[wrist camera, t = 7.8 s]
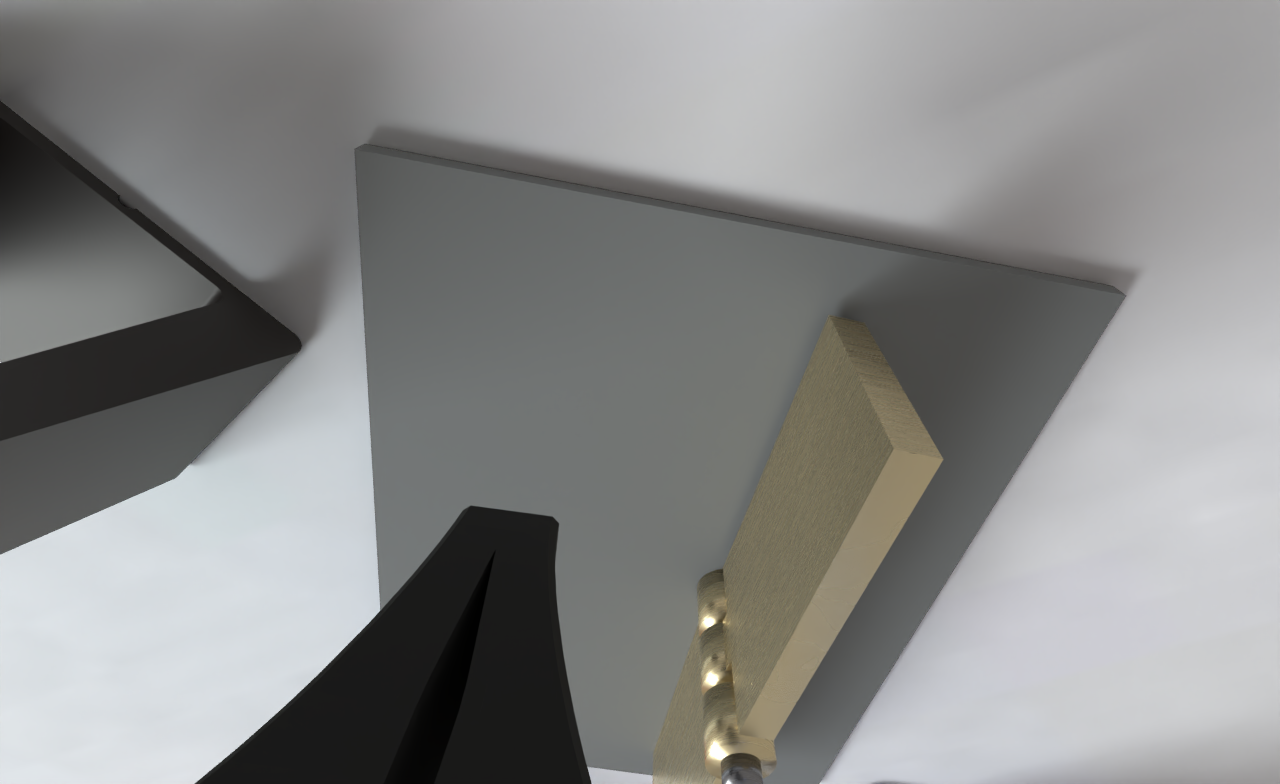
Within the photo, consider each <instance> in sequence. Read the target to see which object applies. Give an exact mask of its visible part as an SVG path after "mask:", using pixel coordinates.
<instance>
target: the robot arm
mask: <svg viewBox="0 0 1280 784" xmlns="http://www.w3.org/2000/svg"><path fill="white" fill-rule="evenodd" d="M558 531H559V523H558V522H557V521H556V519H555V518H554V517H553V516H546V515H538V514H531V513H524V512H516V511H509V510H501V509H494V508H486V507H479V506H472V505H471V506H469V507H467V508H466V509H464V510H463V511H462V512H461V514H460V515H459V517H458V518H457V519H456V521H455V522H454V523H453V525H452V526H451V527H450V529H449V530H448V531H447V533H446V534H445V535H444V537H443V538H442V539H441V541H440V542H439V543H438V544H437V546H436V547H435V548H434V549H433V551H432V552H431V553H430V554H429V556H428V557H427V558H426V559H425V560H424V562H423V563H422V564H421V565H420V566H419V568H418V569H417V570H416V571H415V572H414V574H413V575H412V576H411V577H410V578H409V579H408V580H407V582H406V583H405V584H404V585H403V586H402V587H401V588H400V589H399V590H398V592H397V593H396V594H395V595H394V596H393V597H392V598H391V599H390V601H389V602H388V603H387V604H386V605H385V606H384V607H383V608H382V610H381V611H380V612H379V613H378V614H377V615H376V616H375V617H374V618H373V619H372V620H371V622H370V623H369V624H368V625H367V626H366V627H365V628H364V629H363V630H362V631H361V632H360V633H359V634H358V635H357V636H356V637H355V638H354V639H353V640H352V641H351V642H350V643H349V644H348V645H347V646H346V647H345V648H344V649H343V650H342V651H341V652H340V653H339V654H338V655H337V656H336V657H335V658H334V659H333V660H332V661H331V662H330V663H329V664H328V665H327V666H326V667H325V668H324V669H323V670H322V671H321V672H320V673H319V674H318V675H317V676H316V677H315V678H314V679H313V680H312V681H311V682H310V683H309V684H308V685H307V686H306V687H305V688H304V689H303V690H302V691H301V692H300V693H298V694H297V695H296V696H295V697H294V698H293V699H292V700H291V701H290V702H289V703H288V704H287V705H286V706H284V707H283V708H282V709H281V710H280V711H279V712H278V713H277V714H276V715H275V716H273V717H272V718H271V719H270V720H269V721H268V722H267V723H266V724H264V725H263V726H262V727H261V728H260V729H259V730H258V731H257V732H255V733H254V734H253V735H252V736H251V737H250V738H249V739H248V740H246V741H245V742H244V743H243V744H242V745H241V746H239V747H238V748H237V749H236V750H235V751H234V752H232V753H231V754H230V755H229V756H228V757H226V758H225V759H224V760H223V761H222V762H220V763H219V764H218V765H217V766H216V767H214V768H213V769H212V770H211V771H210V772H208V773H207V774H206V775H205V776H203V777H202V778H201V779H200V780H199V781H197V782H196V783H195V784H591V780H590V776H589V772H588V768H587V764H586V760H585V757H584V753H583V748H582V744H581V740H580V736H579V731H578V727H577V722H576V718H575V713H574V708H573V703H572V698H571V693H570V688H569V683H568V678H567V672H566V666H565V660H564V654H563V647H562V639H561V631H560V624H559V616H558V607H557V596H556V576H555V560H556V550H557V540H558Z"/></svg>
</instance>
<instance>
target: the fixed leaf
mask: <svg viewBox="0 0 1280 784" xmlns="http://www.w3.org/2000/svg"><path fill="white" fill-rule="evenodd" d="M697 602H698V625H697V628H696V631H695V634H694V637H693V640H692V643H691V646H690V649H689V651H688V654H687V657H686V660H685V663H684V666H683V669H682V672H681V674H680V677H679V680H678V683H677V686H676V689H675V692H674V695H673V697H672V700H671V703H670V706H669V709H668V712H667V715H666V718H665V721H664V723H663V726H662V729H661V732H660V735H659V738H658V741H657V744H656V746H655V749H654V752H653V784H763V778H765V777H767V776H769V775H770V774H771V773H772V772H773V771H774V770H775V768H776V766H777V760H776V753H775V746H774V740H769V739H763V738H757V737H751V736H745V735H739V734H738V727H737V717H736V706H735V695H734V684H733V682H725V683H721V684H718V685H715V686H713V687H712V688H710V689H709V690H708V691H706V693H705V694H704V696H703V695H702V689H701V667H700V645H699V640H700V636H701V634H702V633H703V632H704V631H705V630H706V629H707V628H709V627H710V626H713V625H715V624H718V623H722V622H723V620H724V618H725V616H726V613H727V608H726V597H725V586H724V575H723V569H719V570H715V571H712V572H709V573H707V574H706V575H704V576H703V577H702V578H701V579H700V580H699V582H698V585H697Z"/></svg>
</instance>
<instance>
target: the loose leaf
mask: <svg viewBox="0 0 1280 784" xmlns="http://www.w3.org/2000/svg"><path fill="white" fill-rule="evenodd" d="M942 461H943V458H942V456H941V454H940V452H939V451H938V449H937V447H936V445H935V444H934V442H933V440H932V439H931V437H930V435H929V433H928V432H927V430H926V428H925V426H924V425H923V423H922V421H921V420H920V418H919V416H918V414H917V413H916V411H915V409H914V407H913V406H912V404H911V402H910V401H909V399H908V397H907V395H906V394H905V392H904V390H903V388H902V387H901V385H900V383H899V382H898V380H897V378H896V376H895V375H894V373H893V371H892V369H891V368H890V366H889V364H888V363H887V361H886V359H885V357H884V356H883V354H882V352H881V350H880V349H879V347H878V345H877V344H876V342H875V340H874V338H873V337H872V335H871V333H870V331H869V330H868V328H867V326H866V325H865V323H863V322H858V321H854V320H850V319H845V318H841V317H836V316H832V315H829V316H828V318H827V320H826V323H825V325H824V328H823V330H822V332H821V335H820V337H819V339H818V342H817V344H816V347H815V349H814V351H813V354H812V356H811V359H810V361H809V363H808V366H807V368H806V371H805V373H804V375H803V378H802V380H801V382H800V385H799V387H798V390H797V392H796V394H795V397H794V399H793V402H792V404H791V406H790V409H789V411H788V413H787V416H786V418H785V421H784V423H783V425H782V428H781V430H780V433H779V435H778V437H777V440H776V442H775V445H774V447H773V449H772V452H771V454H770V456H769V459H768V461H767V464H766V466H765V468H764V471H763V473H762V476H761V478H760V480H759V483H758V485H757V487H756V490H755V492H754V495H753V497H752V499H751V502H750V504H749V507H748V509H747V511H746V514H745V516H744V519H743V521H742V523H741V526H740V528H739V530H738V533H737V535H736V538H735V540H734V542H733V545H732V547H731V550H730V552H729V554H728V557H727V559H726V562H725V564H724V566H723V575H724V586H725V597H726V608H727V613H726V616H725V618H724V620H723V622H722V623H718V624H715V625H713V626H710V627H709V628H707V629H706V630H705V631H704V632H703V633H702V634H701V636H700V640H699V645H700V667H701V689H702V695H703V696H704V694H705V693H706V691H708V690H709V689H710V688H712V687H713V686H715V685H718V684H721V683H725V682H733V684H734V695H735V706H736V717H737V727H738V734H739V735H745V736H751V737H757V738H763V739H769V740H774V739H775V738H776V736H777V734H778V733H779V731H780V729H781V728H782V726H783V724H784V723H785V721H786V719H787V718H788V716H789V714H790V713H791V711H792V709H793V708H794V706H795V704H796V703H797V701H798V699H799V698H800V696H801V695H802V693H803V691H804V690H805V688H806V686H807V685H808V683H809V681H810V680H811V678H812V676H813V675H814V673H815V671H816V670H817V668H818V666H819V665H820V663H821V661H822V660H823V658H824V656H825V655H826V653H827V651H828V650H829V648H830V647H831V645H832V643H833V642H834V640H835V638H836V637H837V635H838V633H839V632H840V630H841V628H842V627H843V625H844V623H845V622H846V620H847V618H848V617H849V615H850V613H851V612H852V610H853V608H854V607H855V605H856V603H857V602H858V600H859V599H860V597H861V595H862V594H863V592H864V590H865V589H866V587H867V585H868V584H869V582H870V580H871V579H872V577H873V575H874V574H875V572H876V570H877V569H878V567H879V565H880V564H881V562H882V560H883V559H884V557H885V555H886V554H887V552H888V551H889V549H890V547H891V546H892V544H893V542H894V541H895V539H896V537H897V536H898V534H899V532H900V531H901V529H902V527H903V526H904V524H905V522H906V521H907V519H908V517H909V516H910V514H911V512H912V511H913V509H914V507H915V506H916V504H917V503H918V501H919V499H920V498H921V496H922V494H923V493H924V491H925V489H926V488H927V486H928V484H929V483H930V481H931V479H932V478H933V476H934V474H935V473H936V471H937V469H938V468H939V466H940V464H941V463H942Z"/></svg>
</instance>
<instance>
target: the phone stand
mask: <svg viewBox="0 0 1280 784" xmlns="http://www.w3.org/2000/svg"><path fill="white" fill-rule="evenodd" d="M119 196H120V195H118V194H117V193H116V192H115V191H113V190H112V189H111V188H109V187H108V186H107V185H106V184H104V183H103V182H102V181H101V180H99V179H98V178H97V177H96V176H94V175H93V174H92V173H91V172H89V171H88V170H87V169H85V168H84V167H83V166H82V165H80V164H79V163H78V162H77V161H75V160H74V159H73V158H72V157H70V156H69V155H68V154H67V153H65V152H64V151H63V150H62V149H60V148H59V147H58V146H56V145H55V144H54V143H53V142H51V141H50V140H49V139H48V138H46V137H45V136H44V135H43V134H41V133H40V132H39V131H38V130H36V129H35V128H34V127H32V126H31V125H30V124H29V123H27V122H26V121H25V120H24V119H22V118H21V117H20V116H19V115H17V114H16V113H15V112H14V111H12V110H11V109H10V108H8V107H7V106H6V105H5V104H3V103H2V102H1V101H0V362H2V363H0V554H2V553H5V552H7V551H9V550H12V549H14V548H16V547H19V546H21V545H23V544H25V543H28V542H30V541H32V540H35V539H37V538H39V537H42V536H44V535H46V534H48V533H51V532H53V531H55V530H58V529H60V528H62V527H64V526H67V525H69V524H71V523H74V522H76V521H78V520H81V519H83V518H85V517H87V516H90V515H92V514H94V513H97V512H99V511H101V510H103V509H106V508H108V507H110V506H113V505H115V504H117V503H120V502H122V501H124V500H126V499H129V498H131V497H133V496H136V495H138V494H140V493H142V492H145V491H147V490H149V489H152V488H154V487H156V486H159V485H161V484H163V483H165V482H168V481H170V480H172V479H175V478H176V477H177V476H178V475H179V474H180V473H181V472H182V471H183V470H184V469H185V468H186V467H187V466H188V465H189V464H190V463H191V462H192V461H193V460H194V459H195V458H196V457H197V456H198V455H199V454H200V453H201V452H202V451H203V450H204V449H205V448H206V447H207V446H208V445H209V444H210V443H211V441H212V440H213V439H214V438H215V437H216V436H217V435H218V434H219V433H220V432H221V431H222V430H223V429H224V428H225V427H226V426H227V425H228V424H229V423H230V422H231V421H232V420H233V419H234V418H235V417H236V416H237V415H238V414H239V413H240V412H241V411H242V410H243V409H244V407H245V406H246V405H247V404H248V403H249V402H250V401H251V400H252V399H253V398H254V397H255V396H256V395H257V394H258V393H259V392H260V391H261V390H262V389H263V388H264V387H265V386H266V385H267V384H268V383H269V382H270V381H271V380H272V379H273V378H274V377H275V376H276V375H277V373H278V372H279V371H280V370H281V369H282V368H283V367H284V366H285V365H286V364H287V363H288V362H289V361H290V360H291V359H292V358H293V357H294V356H295V355H296V354H297V353H298V352H299V351H300V349H301V342H300V340H299V338H298V337H297V336H296V335H295V334H294V333H293V332H291V331H290V330H289V329H288V328H286V327H285V326H284V325H282V324H281V323H280V322H279V321H277V320H276V319H275V318H274V317H272V316H271V315H270V314H269V313H267V312H266V311H265V310H264V309H262V308H261V307H260V306H258V305H257V304H256V303H255V302H253V301H252V300H251V299H250V298H248V297H247V296H246V295H245V294H243V293H242V292H241V291H240V290H238V289H237V288H236V287H234V286H233V285H232V284H231V283H229V282H228V281H227V280H226V279H224V278H223V277H222V276H221V275H219V274H218V273H217V272H216V271H214V270H213V269H212V268H210V267H209V266H208V265H207V264H205V263H204V262H203V261H202V260H200V259H199V258H198V257H197V256H195V255H194V254H193V253H192V252H190V251H189V250H188V249H187V248H185V247H184V246H183V245H181V244H180V243H179V242H178V241H176V240H175V239H174V238H173V237H171V236H170V235H169V234H168V233H166V232H165V231H164V230H163V229H161V228H160V227H159V226H157V225H156V224H155V223H154V222H152V221H151V220H150V219H149V218H147V217H146V216H145V215H144V214H142V213H141V212H140V211H139V210H137V209H129V208H127V207H125V206H123V205H122V204H121V203H120V202H119V201H118V198H119Z"/></svg>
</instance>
